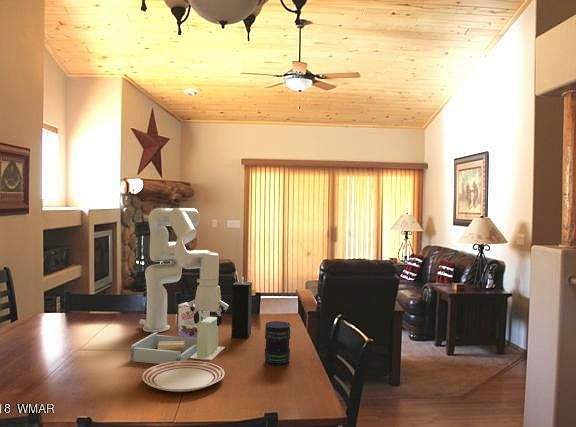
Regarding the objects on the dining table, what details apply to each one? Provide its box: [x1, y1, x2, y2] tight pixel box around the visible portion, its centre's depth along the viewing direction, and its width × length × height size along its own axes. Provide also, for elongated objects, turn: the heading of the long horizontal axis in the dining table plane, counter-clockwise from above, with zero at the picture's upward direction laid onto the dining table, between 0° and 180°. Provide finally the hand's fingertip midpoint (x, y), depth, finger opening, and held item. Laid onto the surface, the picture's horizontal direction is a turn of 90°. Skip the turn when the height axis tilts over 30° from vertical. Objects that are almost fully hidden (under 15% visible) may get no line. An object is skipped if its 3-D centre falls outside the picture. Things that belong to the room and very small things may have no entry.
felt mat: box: [189, 345, 225, 361], centre depth 181 cm, size 9×16×1 cm, turn 169°
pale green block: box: [197, 316, 219, 357], centre depth 181 cm, size 4×12×13 cm, turn 169°
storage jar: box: [264, 320, 291, 368], centre depth 171 cm, size 10×10×15 cm
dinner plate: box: [141, 360, 225, 393], centre depth 151 cm, size 28×27×3 cm
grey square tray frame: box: [130, 332, 197, 365], centre depth 177 cm, size 20×19×6 cm
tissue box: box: [231, 276, 253, 339], centre depth 206 cm, size 8×8×28 cm
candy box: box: [177, 301, 211, 338], centre depth 196 cm, size 14×6×16 cm, turn 62°
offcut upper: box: [157, 341, 185, 353], centre depth 176 cm, size 4×10×3 cm, turn 100°
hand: (207, 324), depth 181 cm, fingers open, 9 cm apart
